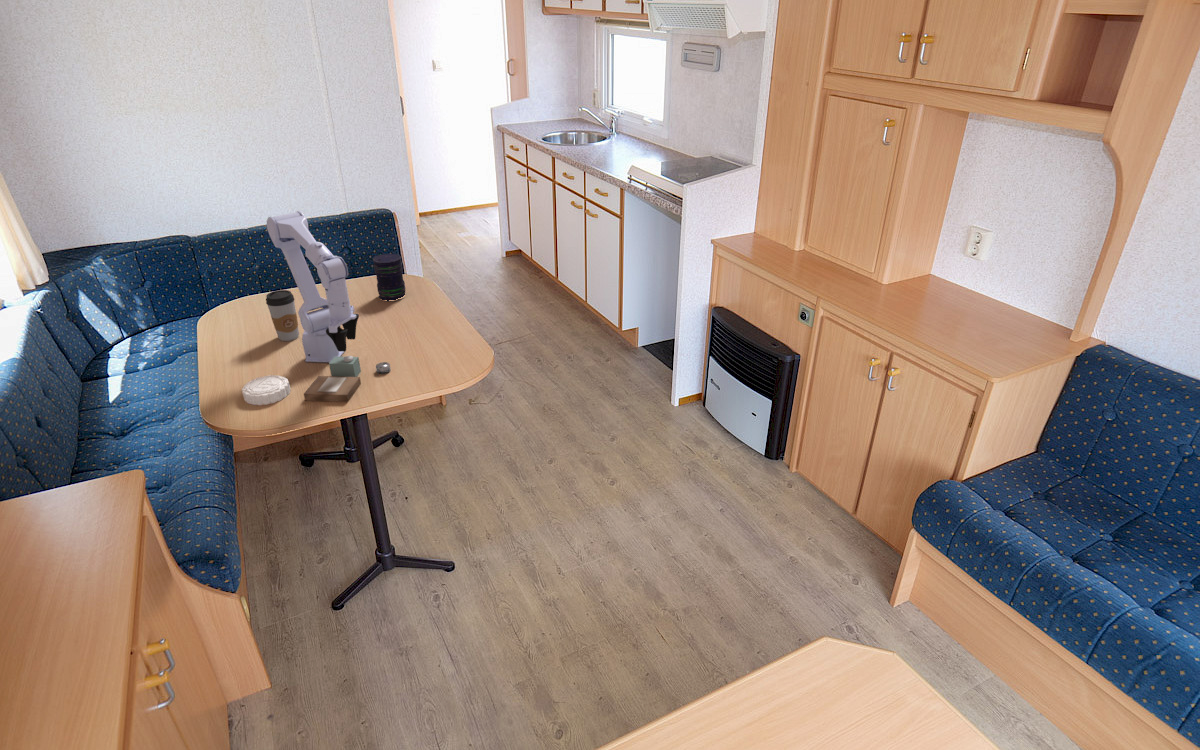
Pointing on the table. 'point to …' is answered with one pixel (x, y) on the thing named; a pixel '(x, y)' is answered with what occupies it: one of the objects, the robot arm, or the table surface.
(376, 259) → the storage jar
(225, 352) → the table surface
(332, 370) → the block
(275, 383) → the mooncake
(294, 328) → the coffee cup
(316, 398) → the stand
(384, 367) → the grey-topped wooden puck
